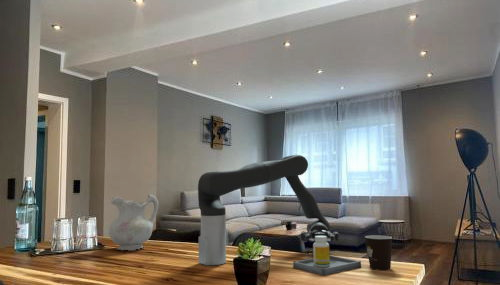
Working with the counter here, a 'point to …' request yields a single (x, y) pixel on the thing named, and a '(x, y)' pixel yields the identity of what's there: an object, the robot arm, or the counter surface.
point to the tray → (335, 266)
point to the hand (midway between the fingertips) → (319, 238)
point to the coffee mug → (379, 251)
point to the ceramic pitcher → (132, 223)
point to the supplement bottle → (321, 252)
